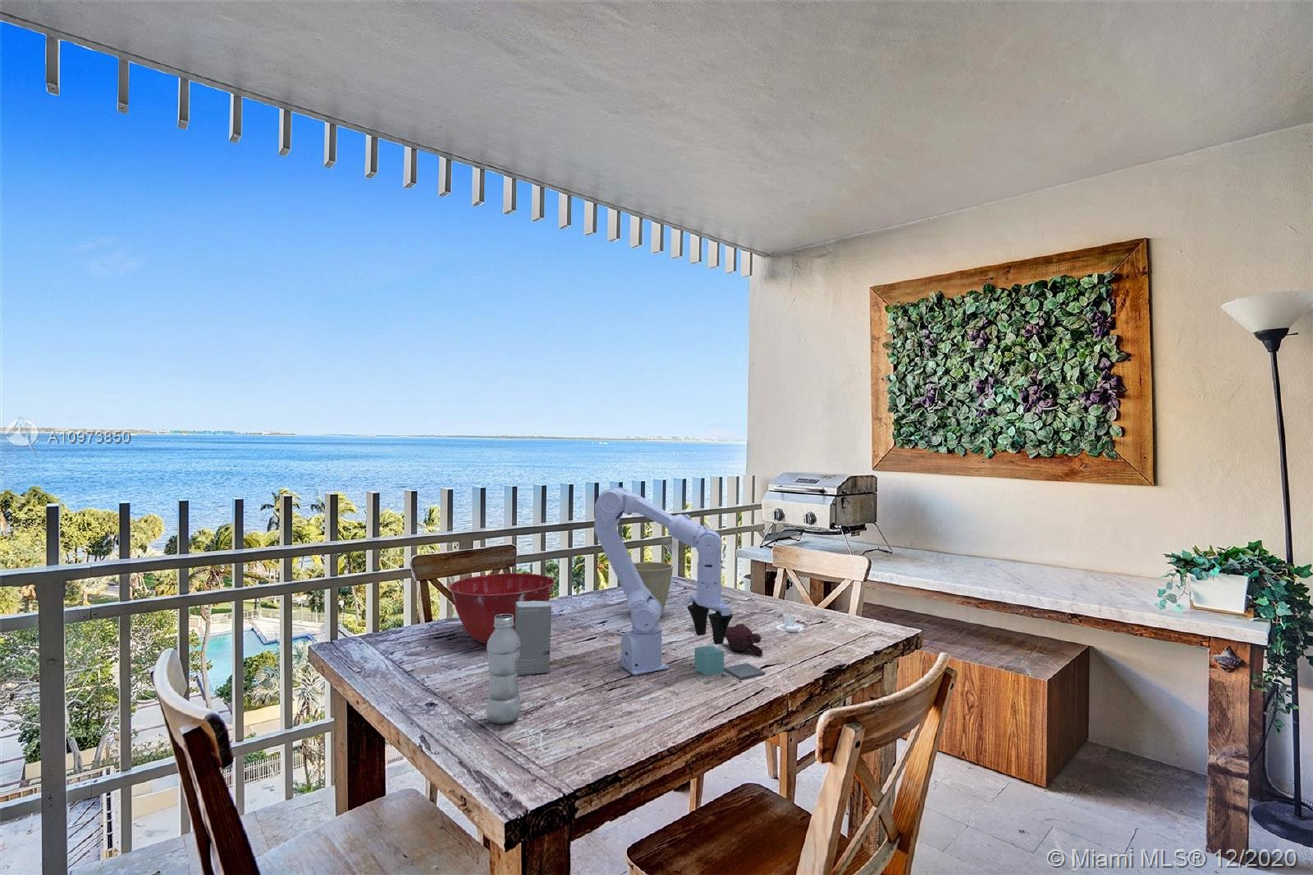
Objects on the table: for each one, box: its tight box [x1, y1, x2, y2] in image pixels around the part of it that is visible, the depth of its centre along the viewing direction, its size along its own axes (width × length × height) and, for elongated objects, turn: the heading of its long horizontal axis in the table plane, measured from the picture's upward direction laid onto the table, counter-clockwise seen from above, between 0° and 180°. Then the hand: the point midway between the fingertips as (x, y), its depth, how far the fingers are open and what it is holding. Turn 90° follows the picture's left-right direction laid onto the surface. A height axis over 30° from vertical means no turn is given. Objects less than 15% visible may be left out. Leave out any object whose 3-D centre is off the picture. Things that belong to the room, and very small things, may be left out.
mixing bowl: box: [448, 572, 556, 645], centre depth 169 cm, size 28×28×16 cm
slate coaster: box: [724, 662, 766, 681], centre depth 143 cm, size 7×7×1 cm
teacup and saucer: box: [775, 613, 805, 633], centre depth 179 cm, size 9×8×4 cm
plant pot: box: [633, 561, 674, 613], centre depth 191 cm, size 15×15×16 cm
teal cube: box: [694, 644, 725, 676], centre depth 145 cm, size 5×5×5 cm
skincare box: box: [515, 600, 552, 677], centre depth 145 cm, size 8×7×16 cm
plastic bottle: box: [485, 614, 521, 725], centre depth 118 cm, size 6×7×20 cm
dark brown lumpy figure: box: [724, 623, 764, 657], centre depth 160 cm, size 7×8×15 cm
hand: (709, 639), depth 145 cm, fingers open, 7 cm apart
